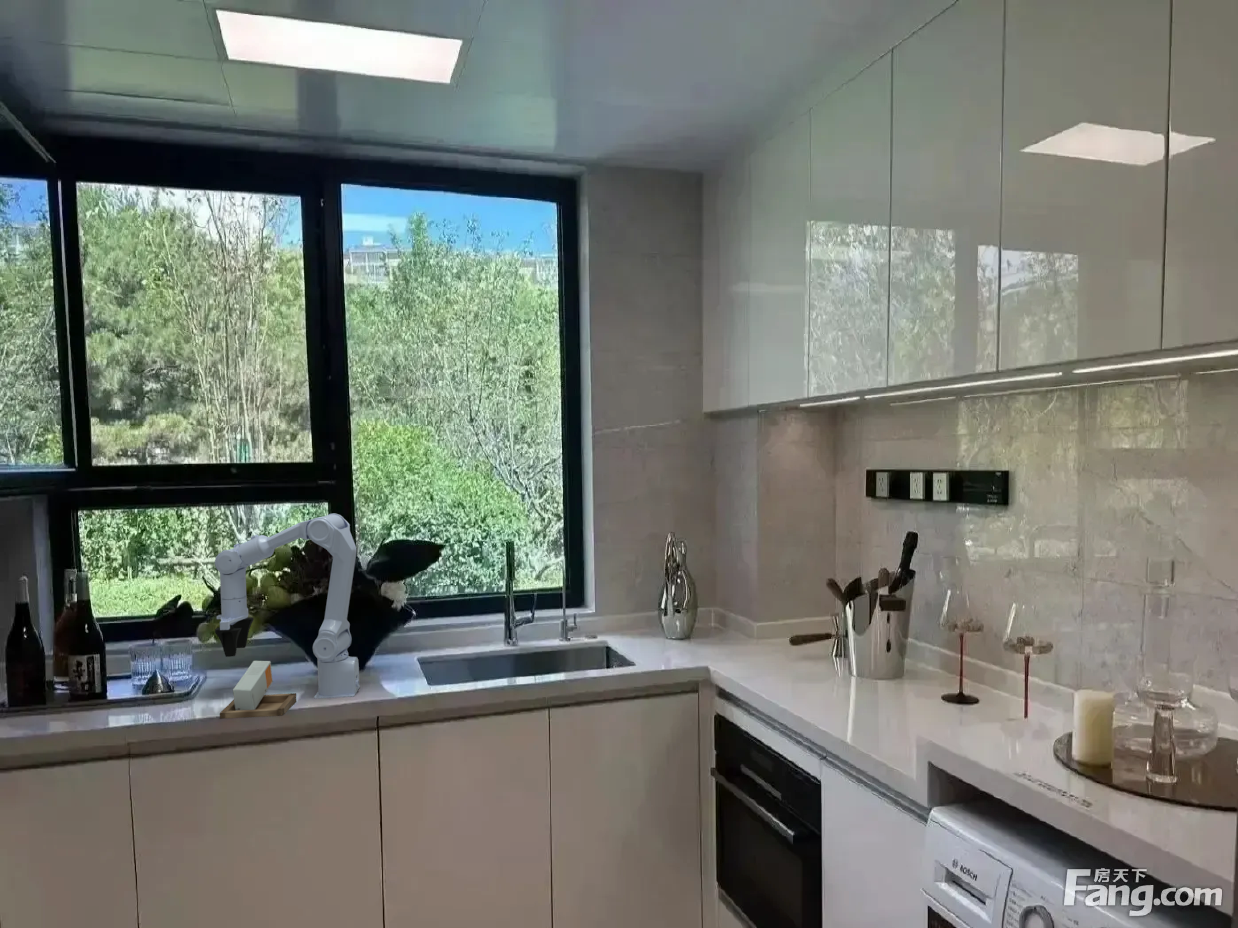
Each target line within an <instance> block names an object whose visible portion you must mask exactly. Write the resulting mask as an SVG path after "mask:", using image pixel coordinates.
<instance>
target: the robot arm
mask: <svg viewBox="0 0 1238 928" xmlns="http://www.w3.org/2000/svg"><path fill="white" fill-rule="evenodd" d="M350 526H351V524H350V523H349V522H348V521H347V520H346V519H345V518H344V516H342V515H341V514H338V513H329V514H327V515H323V516H320V517H314V518H312V519H308V520H304V521H300V522H298V523H296V524H294V525H292V526H290V527H287V528H286V529H283V530H281V531H279V532H277V533H275V534H273V535H271V536H266V535H264V534H260V535H258V534H254V535H252V536H250V539H249V540H247V541H245V542H242V543H239V542H238V543H236V544H234V545H233V548H231V549H224V550H223V549H222V551H221V552H219V553H218V554H217V555H216V556H215V560H214V566H215V569H216V570H217V572H219V583H220V585H219V587H220V604H221V605H220V609H221V614H218V615H216V620H220V621H219V627H216V628H215V629H214V633H215V635H216V636H217V637H218V639H219V641H220V643H221V646H222V650H223V652H224V653H223V654H224V656H225V657H227V658H228V657H229V658H230V657H236V654H237V649H245V648H246V647H247V642H248V637H249V632H250V630H251V626H252V624H253V622H254V617H252V616H249V608H248V605H247V604H248V603H247V602H248V600H247V578H246V574H247V573H246V572H247V571H246V570H247V568H248V567H250V566H252V565H254V564H257V563H258V562H259V563H260V562H261V561H263V560H266V559H267V558H270V557H272V555H274V552H275V550H276V549H278V548H279V547H280V548H281V547H282V546H284V545H287V544H290V543H292V542H295V541H297V540H299V539H303V540H305V541H308V540H311V541H312V542H313V543H314V544H316V545H318V546H320V547H322V548H324V549H325V550H327V552H328V553H329V554H330V555H331V556H332V563H331V570H330V577H329V584H328V591H327V597H326V598H327V599H326V605H325V611H324V619H323V621H322V624H321V626H320V628H319V630H318V635H317V637H316V639H315V640H314V642H313V644H312V652H313V655H314V656H315V657H316V658H317V661H316V662H317V679H318V681H317V683H318V684H317V687H318V690H317V692H316V694H315V695H314V696H313V699H316V700H317V699H337V698H354V697H355V695H357V693H358V691H359V689H360V688H361V686H360V667H359V659H358V656H349V652H348V649H349V647H350V646H351V645H352V634H351V632H350V626H351V624H350V622H349V621H348V614H349V606H350V600H351V592H352V586H353V578H354V572H355V564H356V559H357V558H356V557H357V546H356V543H355V540H354V538H353V536H352V533H351V527H350Z"/></svg>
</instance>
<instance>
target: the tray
mask: <svg viewBox="0 0 1238 928" xmlns="http://www.w3.org/2000/svg"><path fill="white" fill-rule="evenodd" d="M295 704H297V693H293V692H292V693H275V694H265V695H264V696H263V698H262V699H261V701H260V702H259V704H258V705H257V707H256V708H255V710H237V711H235V704H234V699H233V700H232V701H230V702H229V703H228V705H226V706H225V707H224V708H223V709H222V710H221V711H220V713H219V719H220V720H221V719H240V718H259V717H262V718H265V717H281V716H284V715H286V713H287V712H289V710H290V709H291V708H292V707H293V706H294V705H295Z"/></svg>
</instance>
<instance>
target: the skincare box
mask: <svg viewBox="0 0 1238 928" xmlns="http://www.w3.org/2000/svg"><path fill="white" fill-rule="evenodd" d="M273 682H274V680H273V673H272V662H271V660H253V661H252V662H251V664H250V665H249V667H247V669H246V671H245V673H243V674H242V676H241V678H240V679H239V681H238V682H237V683H236V685H235V687H233V689H232V695H233V700H234V704H235V711H237V710H255V708H256V707H257V705H258V704H259V702H260V701H261V699H262V698H263V696H264V695H266V694H267V692H268V690H269V689H270V687H271V685H272V684H273Z"/></svg>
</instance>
